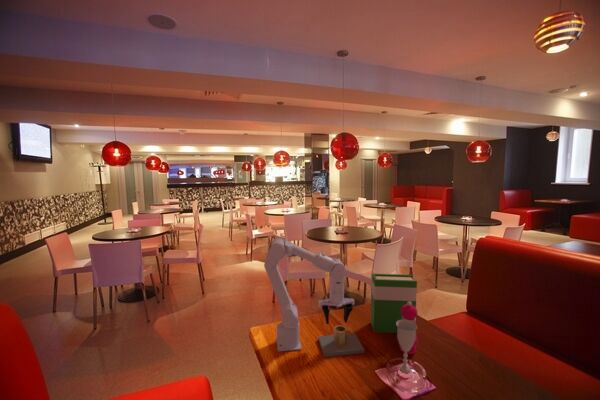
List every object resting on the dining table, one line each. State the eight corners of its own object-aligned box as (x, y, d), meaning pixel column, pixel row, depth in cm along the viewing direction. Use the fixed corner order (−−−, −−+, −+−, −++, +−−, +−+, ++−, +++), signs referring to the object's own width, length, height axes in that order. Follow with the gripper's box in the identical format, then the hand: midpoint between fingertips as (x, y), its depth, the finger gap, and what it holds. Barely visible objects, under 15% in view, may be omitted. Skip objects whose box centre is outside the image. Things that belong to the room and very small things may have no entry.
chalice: (398, 363, 102) (400, 317, 100) (417, 371, 97) (420, 323, 95) (391, 374, 96) (393, 326, 94) (411, 384, 92) (413, 333, 90)
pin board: (324, 357, 105) (324, 343, 105) (318, 339, 116) (318, 327, 115) (364, 352, 107) (364, 339, 107) (354, 336, 118) (354, 324, 118)
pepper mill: (419, 356, 105) (421, 306, 103) (399, 354, 107) (401, 305, 105) (415, 344, 112) (417, 298, 110) (396, 342, 114) (398, 296, 112)
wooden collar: (336, 347, 109) (336, 332, 108) (332, 339, 114) (333, 325, 113) (348, 345, 109) (348, 331, 109) (344, 338, 114) (344, 324, 114)
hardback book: (409, 324, 127) (411, 274, 125) (414, 333, 120) (417, 281, 118) (370, 322, 129) (372, 273, 126) (373, 331, 122) (375, 279, 119)
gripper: (321, 295, 106) (321, 328, 108) (357, 293, 108) (356, 326, 110) (317, 288, 113) (317, 319, 114) (351, 286, 115) (350, 316, 116)
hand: (336, 322), depth 112 cm, fingers open, 7 cm apart
